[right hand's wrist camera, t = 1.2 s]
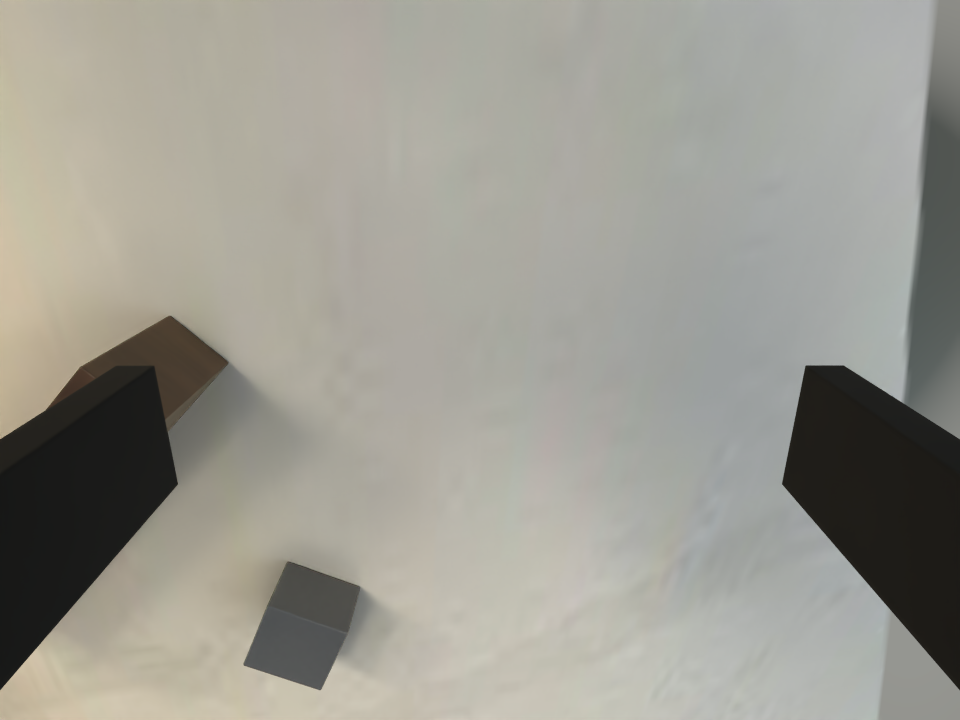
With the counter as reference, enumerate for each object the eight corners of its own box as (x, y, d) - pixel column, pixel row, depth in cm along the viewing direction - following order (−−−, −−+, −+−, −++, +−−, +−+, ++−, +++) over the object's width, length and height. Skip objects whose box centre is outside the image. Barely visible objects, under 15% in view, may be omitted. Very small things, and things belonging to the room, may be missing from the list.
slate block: (264, 617, 41) (242, 665, 37) (287, 560, 39) (267, 605, 35) (335, 640, 41) (320, 691, 38) (360, 586, 40) (348, 633, 36)
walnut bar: (14, 605, 40) (-92, 712, 33) (-42, 570, 39) (-164, 673, 32) (229, 362, 34) (159, 425, 27) (169, 314, 33) (79, 366, 26)
